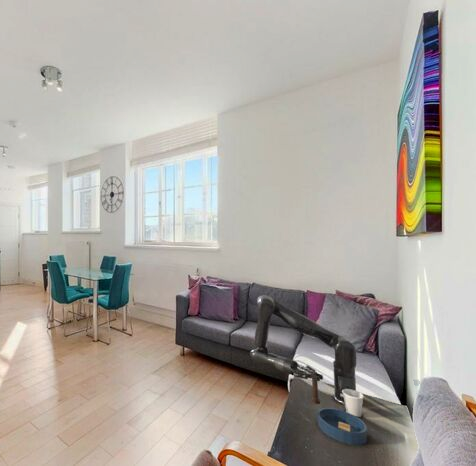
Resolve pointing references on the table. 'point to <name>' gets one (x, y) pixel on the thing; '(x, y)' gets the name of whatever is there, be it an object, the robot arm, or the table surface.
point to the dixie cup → (353, 401)
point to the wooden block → (344, 426)
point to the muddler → (315, 390)
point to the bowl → (329, 426)
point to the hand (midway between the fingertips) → (321, 378)
